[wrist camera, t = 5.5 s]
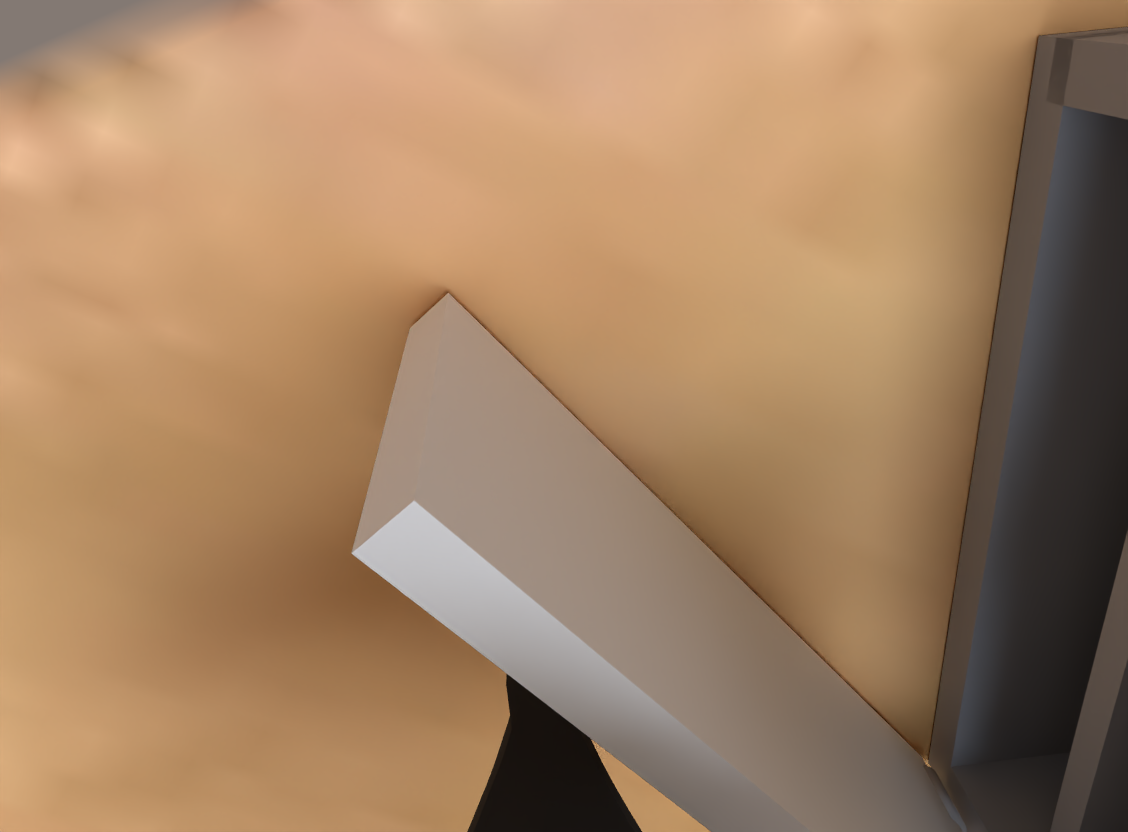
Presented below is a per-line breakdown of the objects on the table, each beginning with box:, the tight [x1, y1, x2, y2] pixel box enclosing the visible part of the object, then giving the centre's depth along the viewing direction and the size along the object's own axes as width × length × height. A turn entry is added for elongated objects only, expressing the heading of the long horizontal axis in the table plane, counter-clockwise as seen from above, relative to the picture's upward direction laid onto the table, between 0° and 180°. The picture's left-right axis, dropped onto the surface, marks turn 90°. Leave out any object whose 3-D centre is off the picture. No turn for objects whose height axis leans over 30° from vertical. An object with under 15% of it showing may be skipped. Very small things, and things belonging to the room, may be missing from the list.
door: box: [351, 293, 967, 832], centre depth 13 cm, size 2×14×6 cm, turn 42°
